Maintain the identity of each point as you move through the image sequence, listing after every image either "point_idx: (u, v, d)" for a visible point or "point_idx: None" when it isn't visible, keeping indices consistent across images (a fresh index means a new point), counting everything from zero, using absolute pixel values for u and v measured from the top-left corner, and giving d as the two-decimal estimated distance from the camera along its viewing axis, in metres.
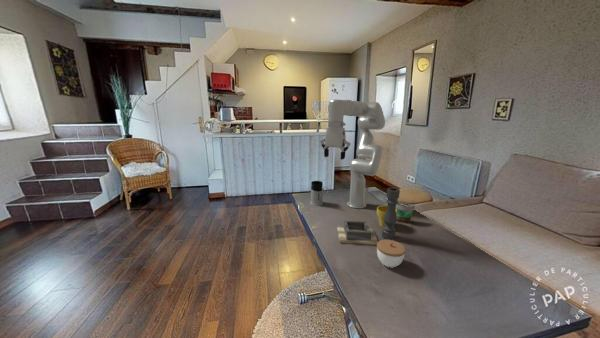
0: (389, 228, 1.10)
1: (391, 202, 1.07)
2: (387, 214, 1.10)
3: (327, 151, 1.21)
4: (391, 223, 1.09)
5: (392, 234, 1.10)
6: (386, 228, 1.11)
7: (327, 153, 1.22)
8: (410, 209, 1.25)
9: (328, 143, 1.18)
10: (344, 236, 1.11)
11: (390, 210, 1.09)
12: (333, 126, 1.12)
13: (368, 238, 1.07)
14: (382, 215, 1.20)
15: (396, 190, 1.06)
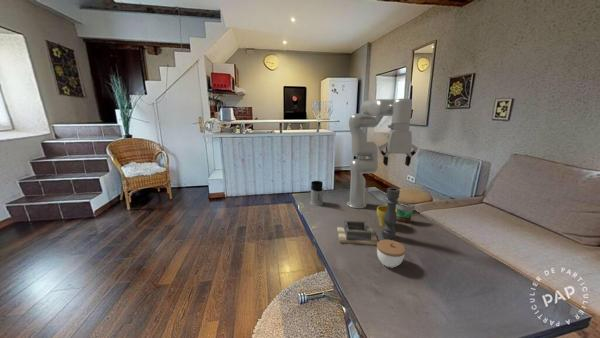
0: (389, 228, 1.10)
1: (391, 202, 1.07)
2: (387, 214, 1.10)
3: (407, 159, 1.03)
4: (391, 223, 1.09)
5: (392, 234, 1.10)
6: (386, 228, 1.11)
7: (406, 161, 1.04)
8: (410, 209, 1.25)
9: None
10: (344, 236, 1.11)
11: (390, 210, 1.09)
12: None
13: (368, 238, 1.07)
14: (382, 215, 1.20)
15: (396, 190, 1.06)
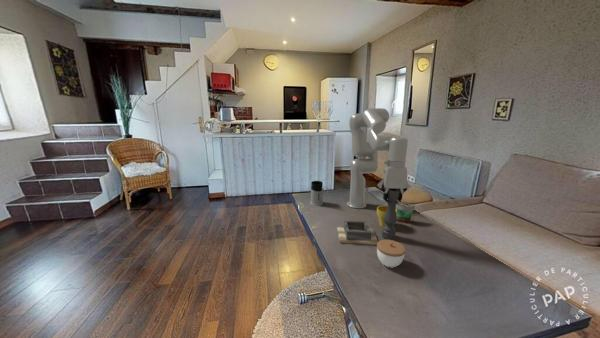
0: (389, 228, 1.10)
1: (391, 202, 1.07)
2: (387, 214, 1.10)
3: (399, 195, 1.08)
4: (391, 223, 1.09)
5: (392, 234, 1.10)
6: (386, 228, 1.11)
7: (398, 197, 1.08)
8: (410, 209, 1.25)
9: None
10: (344, 236, 1.11)
11: (390, 210, 1.09)
12: None
13: (368, 238, 1.07)
14: (382, 215, 1.20)
15: (396, 190, 1.06)
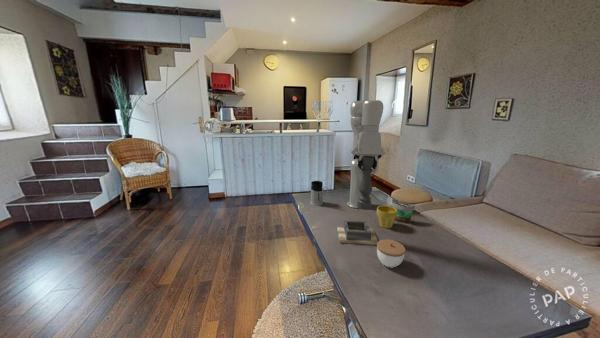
0: (364, 197, 1.07)
1: (365, 170, 1.03)
2: (362, 183, 1.06)
3: None
4: (366, 192, 1.05)
5: (367, 203, 1.07)
6: (361, 198, 1.07)
7: (373, 164, 1.05)
8: (410, 209, 1.25)
9: None
10: (344, 236, 1.11)
11: (365, 179, 1.05)
12: None
13: (368, 238, 1.07)
14: (382, 215, 1.20)
15: (370, 157, 1.03)
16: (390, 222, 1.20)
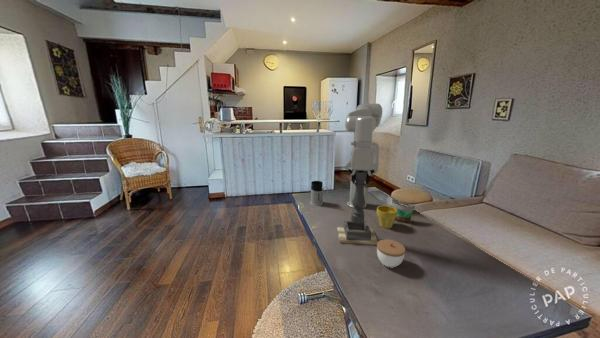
0: (357, 211, 1.08)
1: (358, 184, 1.05)
2: (355, 197, 1.07)
3: None
4: (359, 206, 1.07)
5: (360, 217, 1.08)
6: (354, 211, 1.09)
7: (366, 179, 1.06)
8: (410, 209, 1.25)
9: None
10: (344, 236, 1.11)
11: (358, 193, 1.06)
12: None
13: (368, 238, 1.07)
14: (382, 215, 1.20)
15: (363, 172, 1.04)
16: (390, 222, 1.20)
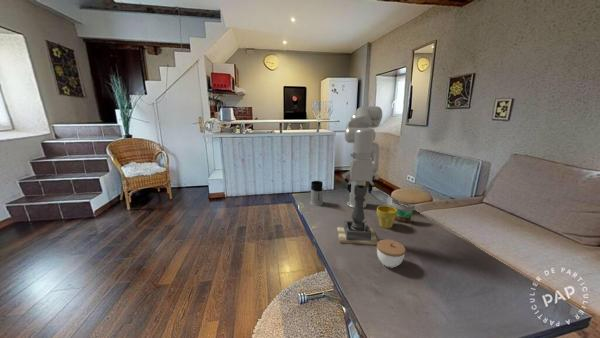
0: (356, 225, 1.10)
1: (358, 199, 1.06)
2: (354, 211, 1.09)
3: (369, 186, 1.07)
4: (358, 220, 1.08)
5: None
6: (354, 225, 1.11)
7: (369, 188, 1.07)
8: (410, 209, 1.25)
9: None
10: (344, 236, 1.11)
11: (357, 207, 1.08)
12: None
13: (368, 238, 1.07)
14: (382, 215, 1.20)
15: (363, 187, 1.05)
16: (390, 222, 1.20)
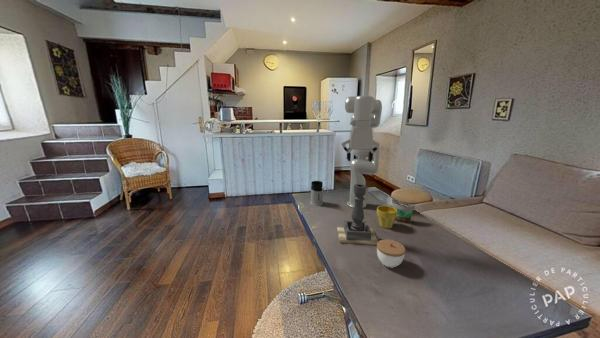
0: (356, 225, 1.10)
1: (357, 199, 1.07)
2: (354, 210, 1.10)
3: (369, 155, 1.06)
4: (358, 219, 1.09)
5: None
6: (354, 225, 1.11)
7: (369, 157, 1.06)
8: (410, 209, 1.25)
9: None
10: (344, 236, 1.11)
11: (357, 207, 1.09)
12: None
13: (368, 238, 1.07)
14: (382, 215, 1.20)
15: (362, 186, 1.07)
16: (390, 222, 1.20)
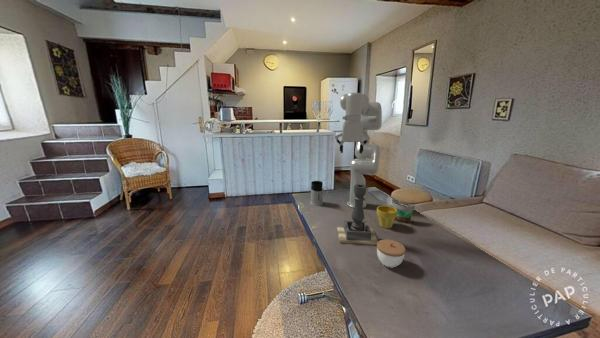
0: (356, 225, 1.10)
1: (357, 199, 1.07)
2: (354, 211, 1.10)
3: (360, 147, 1.16)
4: (358, 220, 1.09)
5: None
6: (354, 225, 1.11)
7: (360, 149, 1.16)
8: (410, 209, 1.25)
9: None
10: (344, 236, 1.11)
11: (357, 207, 1.09)
12: None
13: (368, 238, 1.07)
14: (382, 215, 1.20)
15: (362, 186, 1.06)
16: (390, 222, 1.20)
